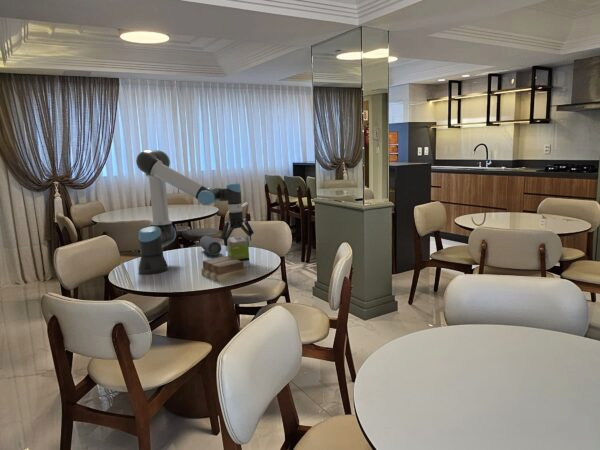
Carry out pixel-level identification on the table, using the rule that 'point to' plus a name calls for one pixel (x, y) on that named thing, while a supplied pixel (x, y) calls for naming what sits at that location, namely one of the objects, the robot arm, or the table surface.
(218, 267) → the walnut slab
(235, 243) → the tea box
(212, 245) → the bluetooth speaker
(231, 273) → the oak slab
